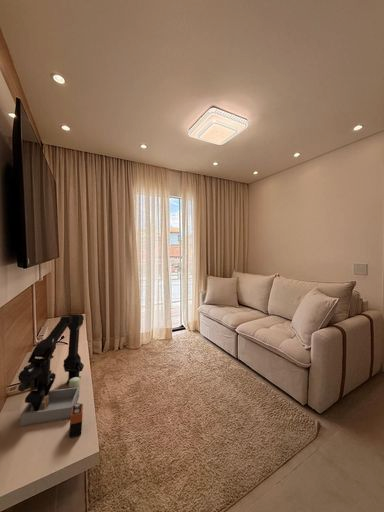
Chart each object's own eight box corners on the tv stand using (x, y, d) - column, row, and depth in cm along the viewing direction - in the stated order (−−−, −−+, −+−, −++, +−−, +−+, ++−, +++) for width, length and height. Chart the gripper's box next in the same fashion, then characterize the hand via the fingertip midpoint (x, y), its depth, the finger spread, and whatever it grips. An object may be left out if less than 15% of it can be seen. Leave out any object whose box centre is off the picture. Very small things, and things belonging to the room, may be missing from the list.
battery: (82, 423, 92) (83, 400, 92) (81, 435, 86) (82, 410, 86) (70, 426, 90) (71, 403, 90) (69, 439, 84) (70, 413, 84)
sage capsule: (70, 390, 114) (70, 377, 114) (80, 389, 116) (80, 376, 116) (67, 396, 109) (68, 382, 110) (78, 394, 111) (78, 381, 111)
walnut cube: (36, 407, 100) (36, 397, 100) (48, 405, 101) (48, 395, 101) (31, 415, 95) (32, 404, 95) (44, 413, 96) (44, 402, 96)
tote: (35, 402, 104) (36, 392, 104) (79, 396, 110) (79, 386, 110) (19, 426, 89) (20, 414, 89) (71, 418, 95) (71, 407, 95)
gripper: (31, 363, 105) (29, 395, 104) (11, 385, 87) (9, 423, 87) (56, 361, 108) (54, 391, 108) (42, 381, 90) (40, 418, 90)
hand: (40, 404), depth 98 cm, fingers open, 9 cm apart
